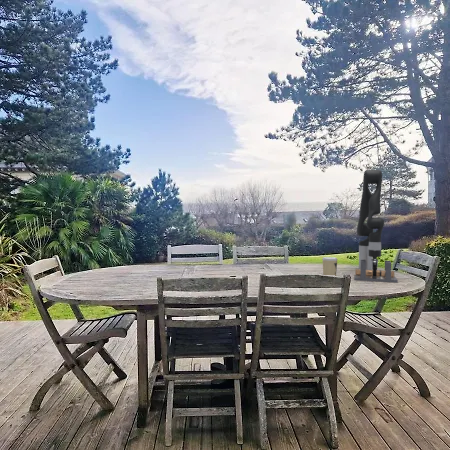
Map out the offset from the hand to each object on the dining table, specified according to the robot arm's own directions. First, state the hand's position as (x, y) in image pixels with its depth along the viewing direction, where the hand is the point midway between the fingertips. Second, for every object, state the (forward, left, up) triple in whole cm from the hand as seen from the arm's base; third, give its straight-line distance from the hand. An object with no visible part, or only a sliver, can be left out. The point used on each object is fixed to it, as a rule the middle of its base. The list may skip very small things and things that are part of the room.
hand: (374, 275), depth 243 cm
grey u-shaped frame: (+13, 0, -1) cm, 13 cm away
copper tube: (0, 0, +2) cm, 2 cm away
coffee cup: (+10, -27, -1) cm, 29 cm away
